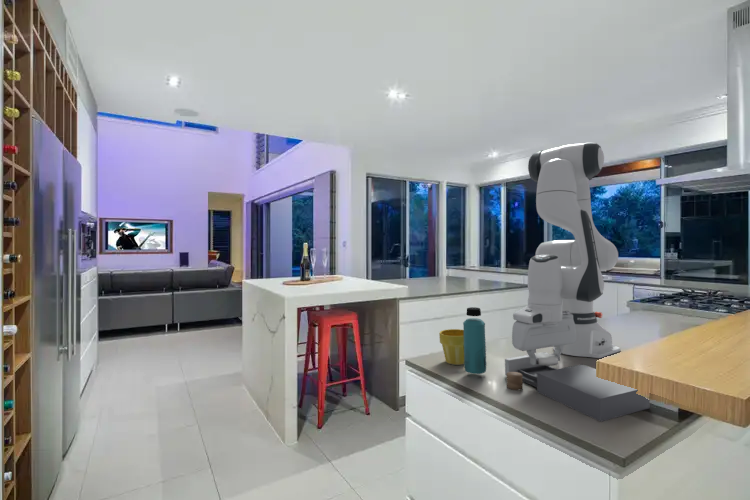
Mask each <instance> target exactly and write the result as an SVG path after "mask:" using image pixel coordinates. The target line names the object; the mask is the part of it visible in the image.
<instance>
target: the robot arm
mask: <svg viewBox="0 0 750 500" xmlns="http://www.w3.org/2000/svg"><path fill="white" fill-rule="evenodd" d="M604 162H605V154H604V151H603V149H602V146H601V145H600V144H598V143H597V142H585V143H574V144H566V145H562V146H559V147H553V148H549V149H546V150H539V151H536V152H534V153H532V154H531V156H530V157H529V159H528V163H527V171H528V173H529V177H530V179H531V180H532V181H534V183H537V184H536V195H535V197H536V198H535V203H536V204H535V208H536V212H537V214H538V216H539V218H541V220H543V221H544V222H547V223H549V224H551V225H553V226H556V227H559V228H561V229H563V230H565V231H567V232H570V233H571V234H572V235H573V237H574V239H557V240H556V239H555V240H549V241H548V240H547V241H545V242H541V243H540V244H539V245H538V247H537V248H536V250H535V255H534V256H532V257H531V258H530V260H529V261H528V262H529V263H528V269H527V290H528V298H527V305H525V306H524V307H522V308H521V309H518V310H515V312H513V314H512V319H513V320H514V321H515V322H514V323H513V325H512V332H511V343H512V344H511V345H512V346H513V347H514V348H515V349H516V350H518V351H522V352H526V353H527V355H529V357H530V363H531V364H532V365H537V364H539V358H536V356H535V354H537V350H538V349H545V348H551V347H552V349H553V350H554V351H553V353H551V354H552V355H555V356H557V357H558V362H559V361H561V355H562V354H563V355H567V356H572V357H573V356H574V357H584V358H587V357H588V358H593V359H601V358H604V357H607V356H610V355H613V354H616V353H619V352H621V347H619V346H617V345H615V344H613V337H612V333H611V332H610V331H609V330H607V329H606V328H605V327H603V326H602V325H601V324H600V323H599V322H598V319H597V318H599V319H602V318H603V312H601V311H594V301H596V300H597V299H599V298H600V297H601V296H602V295H603V294H604V291H605V281H604V280H605V279H604V277H603V274H602V272H605V271H610V270H611V271H612V269H613V268H614V267H615V266H616V265H617V263H618V260H619V251H618V249H617V247H616V246H615V244H614V243H613V242H611V241H610V240H609V239H607V238H605V237H604V236H603V235H601V233H600V231H598V229H597V227H596V226H595V223H594V220H593V215H592V213H593V212H592V202H591V189H590V183H589V181H590V182H591V180H593V177H596V176H597V175H598V174H599V173H600V172H601V171H602V169H603V166H604Z"/></svg>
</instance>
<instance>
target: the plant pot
mask: <svg viewBox="0 0 750 500" xmlns="http://www.w3.org/2000/svg"><path fill="white" fill-rule="evenodd" d="M439 343H440V344H441V347H442V351H443V354H444V358H445V363H447V364H448V365H455V366H459V365H460V366H462V365H464V350H463V349H464V346H463V345H464V329H459V328H458V329H457V328H455V329H454V328H453V329H452V328H450V329H444V330H441V331H439Z"/></svg>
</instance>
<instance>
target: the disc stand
mask: <svg viewBox="0 0 750 500" xmlns="http://www.w3.org/2000/svg"><path fill="white" fill-rule="evenodd" d="M523 383H524V382H523V381H522V374H521V373H518V372H508V373H507V376H506V388H507V389H510V390H513V391H521V390H523V385H524V384H523Z"/></svg>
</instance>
